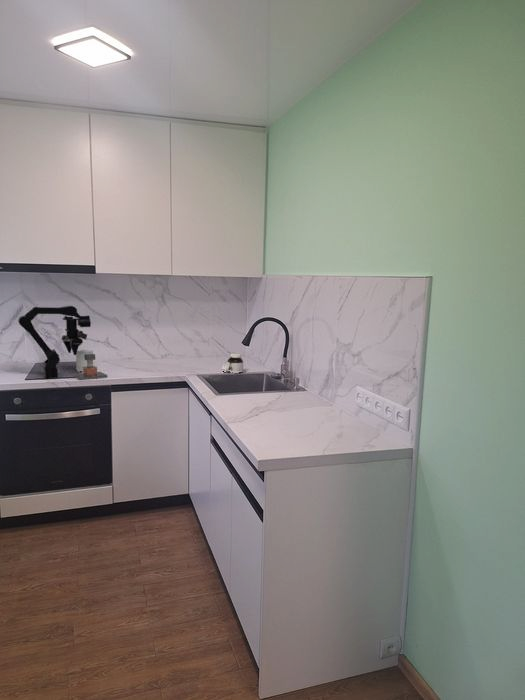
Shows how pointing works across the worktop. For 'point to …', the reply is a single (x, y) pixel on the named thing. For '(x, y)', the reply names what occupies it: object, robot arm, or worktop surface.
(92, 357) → the jack column
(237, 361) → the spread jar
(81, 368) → the supplement box
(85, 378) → the stand base
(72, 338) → the robot arm
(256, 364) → the worktop surface
